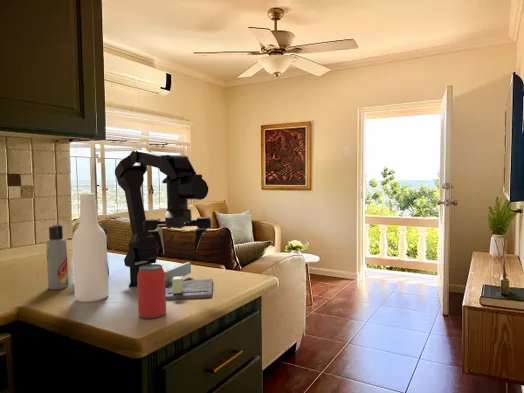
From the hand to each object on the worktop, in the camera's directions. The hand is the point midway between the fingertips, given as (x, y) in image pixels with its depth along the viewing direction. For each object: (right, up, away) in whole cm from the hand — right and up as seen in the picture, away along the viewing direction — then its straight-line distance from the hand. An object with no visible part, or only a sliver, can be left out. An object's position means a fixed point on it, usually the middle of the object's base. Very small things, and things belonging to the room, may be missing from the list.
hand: (179, 253), depth 108 cm
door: (-4, -10, +14) cm, 18 cm away
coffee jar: (-34, -12, +22) cm, 43 cm away
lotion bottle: (-41, -13, +12) cm, 45 cm away
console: (+1, -12, +5) cm, 13 cm away
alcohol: (-25, -13, 0) cm, 28 cm away
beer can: (-3, -13, -15) cm, 20 cm away
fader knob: (0, -11, -1) cm, 11 cm away
